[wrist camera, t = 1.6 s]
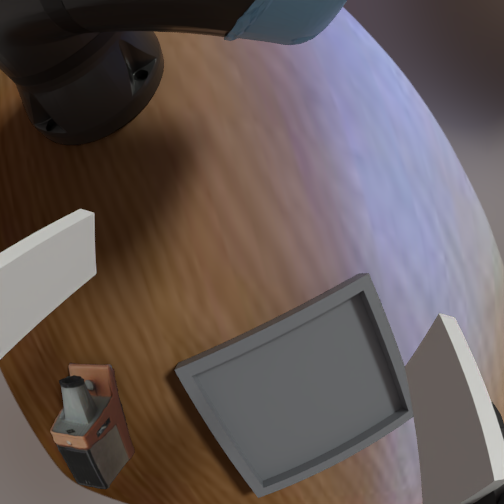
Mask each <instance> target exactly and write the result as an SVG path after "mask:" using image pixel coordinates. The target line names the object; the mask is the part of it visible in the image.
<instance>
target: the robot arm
mask: <svg viewBox="0 0 504 504" xmlns="http://www.w3.org/2000/svg"><path fill="white" fill-rule="evenodd" d="M346 1H347V0H0V69H1V70H2V71H3V72H4V73H5V74H6V75H7V76H8V77H9V78H10V79H12V80H13V82H14V83H15V84H16V86H17V89H18V91H19V94H20V97H21V99H22V102H23V105H24V107H25V110H26V112H27V115H28V117H29V119H30V121H31V123H32V124H33V125H34V127H35V128H36V129H37V130H38V131H40V132H41V133H42V134H43V135H45V136H46V137H47V138H48V139H50V140H52V141H54V142H56V143H60V144H65V145H79V144H85V143H89V142H92V141H95V140H98V139H101V138H103V137H105V136H107V135H109V134H111V133H113V132H115V131H116V130H118V129H119V128H121V127H122V126H124V125H125V124H127V123H128V122H129V121H130V120H132V119H133V118H134V117H135V116H136V115H137V114H138V113H139V112H140V111H141V110H142V109H143V108H144V107H145V106H146V104H147V103H148V102H149V101H150V99H151V98H152V96H153V95H154V93H155V91H156V90H157V88H158V86H159V83H160V81H161V78H162V74H163V69H164V59H163V54H162V51H161V47H160V44H159V41H158V38H157V37H156V35H155V33H154V32H153V31H158V32H179V33H192V34H203V35H212V36H221V37H224V40H229V41H232V40H235V39H237V38H242V39H250V40H258V41H265V42H271V43H277V44H283V45H296V44H301V43H304V42H307V41H308V40H311V39H313V38H314V37H316V36H317V35H318V34H319V33H320V32H322V31H323V30H324V29H325V28H326V27H327V26H328V25H329V24H330V23H331V21H332V20H333V19H334V18H335V16H336V15H337V14H338V13H339V11H340V10H341V8H342V7H343V6H344V4H345V3H346ZM96 274H97V273H96V256H95V213H93V212H90V211H87V210H83V209H79V210H77V211H75V212H73V213H71V214H69V215H67V216H65V217H63V218H61V219H59V220H57V221H55V222H53V223H51V224H50V225H48V226H46V227H44V228H42V229H40V230H39V231H37V232H35V233H33V234H31V235H30V236H28V237H26V238H24V239H23V240H21V241H19V242H17V243H16V244H14V245H12V246H11V247H9V248H7V249H6V250H4V251H2V252H1V253H0V359H1V358H2V357H3V356H4V355H5V354H6V353H7V352H8V351H9V350H10V349H12V348H13V347H14V346H15V345H16V344H17V343H18V342H19V341H20V340H21V339H22V338H23V337H24V336H25V335H26V334H27V333H29V332H30V331H31V330H32V329H33V328H34V327H35V326H36V325H37V324H38V323H39V322H41V321H42V320H43V319H44V318H45V317H46V316H47V315H48V314H50V313H51V312H52V311H53V310H54V309H55V308H56V307H58V306H59V305H60V304H61V303H62V302H63V301H64V300H66V299H67V298H68V297H69V296H70V295H72V294H73V293H74V292H75V291H76V290H77V289H79V288H80V287H81V286H82V285H83V284H85V283H86V282H87V281H88V280H89V279H91V278H92V277H93V276H94V275H96ZM405 372H406V377H407V382H408V387H409V392H410V398H411V404H412V409H413V416H414V422H415V429H416V436H417V444H418V452H419V461H420V471H421V483H422V498H423V504H504V423H503V420H502V417H501V414H500V413H499V411H498V410H497V408H496V407H495V405H494V404H493V402H491V400H490V397H489V394H488V392H487V389H486V387H485V384H484V381H483V379H482V376H481V374H480V372H479V369H478V367H477V364H476V362H475V360H474V357H473V355H472V353H471V351H470V348H469V346H468V344H467V342H466V340H465V338H464V336H463V333H462V331H461V329H460V327H459V325H458V323H457V321H456V319H455V318H454V317H451V316H447V315H444V314H440V313H439V314H438V316H437V318H436V319H435V321H434V323H433V324H432V326H431V328H430V329H429V331H428V333H427V334H426V336H425V337H424V339H423V341H422V342H421V344H420V345H419V347H418V348H417V350H416V351H415V353H414V354H413V356H412V357H411V359H410V360H409V362H408V363H407V365H406V366H405Z"/></svg>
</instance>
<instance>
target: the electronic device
mask: <svg viewBox="0 0 504 504" xmlns="http://www.w3.org/2000/svg"><path fill="white" fill-rule="evenodd" d="M69 372H70V376H67V377H66V378H64V379H61V380H59V383H60V385H61V390H62V397H63V405H64V406H63V408H62V409H61V410H60V412H59V414H58V416H57V417H56V419H55V421H54V423H53V425H52V428H51V430H50V431H51V434H52V436H53V439H54V441H55V443H56V445H57V447H58V449H59V451H60V453H61V454H62V456H63V458H64V460H65V461H66V463H67V465H68V467H69V469H70V470H71V472H72V474H73V476H74V478H75V479H76V482H77V483H78V484H80V485H85V486H90V487H95V488H100V489H107V488H109V487H110V484H111V483H112V481H113V480H114V479H115V477H116V476H117V475H118V473H119V472H120V470H121V469H122V468H123V467H124V465H125V464H126V462H127V461H128V460H130V459H131V458H132V456H133V454H134V447H133V445H132V442H131V439H130V436H129V432H128V428H127V423H126V420H125V416H124V412H123V409H122V404H121V402H120V399H119V395H118V389H117V385H116V380H115V374H114V369H113V368H112V366H111V365H110V364H106V365H96V364H74V363H70V364H69Z"/></svg>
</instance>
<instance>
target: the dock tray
mask: <svg viewBox="0 0 504 504" xmlns="http://www.w3.org/2000/svg"><path fill="white" fill-rule="evenodd" d="M175 372H176V374H177V376H178V377H179V379H180V381H181V383H182V385H183V386H184V388H185V390H186V391H187V393H188V395H189V397H190V398H191V400H192V402H193V403H194V405H195V407H196V408H197V410H198V411H199V413H200V415H201V416H202V418H203V420H204V421H205V423H206V424H207V426H208V427H209V429H210V431H211V432H212V434H213V435H214V437H215V438H216V440H217V441H218V443H219V444H220V446H221V447H222V449H223V450H224V452H225V453H226V455H227V456H228V457H229V459H230V460H231V462H232V463H233V465H234V466H235V467H236V469H237V470H238V471H239V473H240V474H241V476H242V477H243V478H244V480H245V481H246V482H247V484H248V485H249V486H250V488H251V489H252V490H253V492H254V493H255V494H256V495H257V497H258V498H259V497H262V496H264V495H267V494H270V493H272V492H275V491H278V490H280V489H283V488H285V487H287V486H290V485H292V484H295V483H297V482H299V481H302V480H304V479H306V478H308V477H310V476H313V475H315V474H317V473H319V472H321V471H323V470H325V469H327V468H329V467H331V466H333V465H335V464H337V463H339V462H341V461H343V460H344V459H346V458H348V457H350V456H352V455H354V454H355V453H357V452H359V451H361V450H362V449H364V448H366V447H368V446H369V445H371V444H373V443H374V442H376V441H377V440H379V439H381V438H382V437H384V436H385V435H387V434H389V433H390V432H392V431H393V430H395V429H396V428H398V427H399V426H401V425H402V424H404V423H405V422H406V421H408V420H409V419H411V418H412V417H414V416H413V409H412V404H411V398H410V392H409V387H408V382H407V377H406V372H405V366H404V363H403V360H402V358H401V355H400V352H399V349H398V346H397V343H396V341H395V338H394V335H393V333H392V330H391V327H390V325H389V322H388V319H387V317H386V314H385V312H384V309H383V307H382V304H381V302H380V299H379V297H378V294H377V292H376V289H375V287H374V285H373V282H372V280H371V278H370V275H369V273H362V274H357V275H355V276H354V277H352V278H350V279H348V280H346V281H345V282H343V283H341V284H339V285H337V286H336V287H334V288H332V289H330V290H328V291H326V292H324V293H323V294H321V295H319V296H317V297H315V298H313V299H311V300H309V301H307V302H306V303H304V304H302V305H300V306H298V307H296V308H294V309H292V310H290V311H288V312H286V313H284V314H282V315H280V316H278V317H276V318H274V319H272V320H270V321H268V322H266V323H264V324H262V325H260V326H258V327H256V328H254V329H252V330H250V331H248V332H245V333H243V334H241V335H239V336H237V337H235V338H233V339H231V340H228V341H226V342H224V343H222V344H220V345H218V346H215V347H213V348H211V349H209V350H207V351H204V352H202V353H200V354H198V355H195V356H193V357H191V358H189V359H186V360H184V361H182V362H179V363H178V364H177V366H176V368H175Z"/></svg>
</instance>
